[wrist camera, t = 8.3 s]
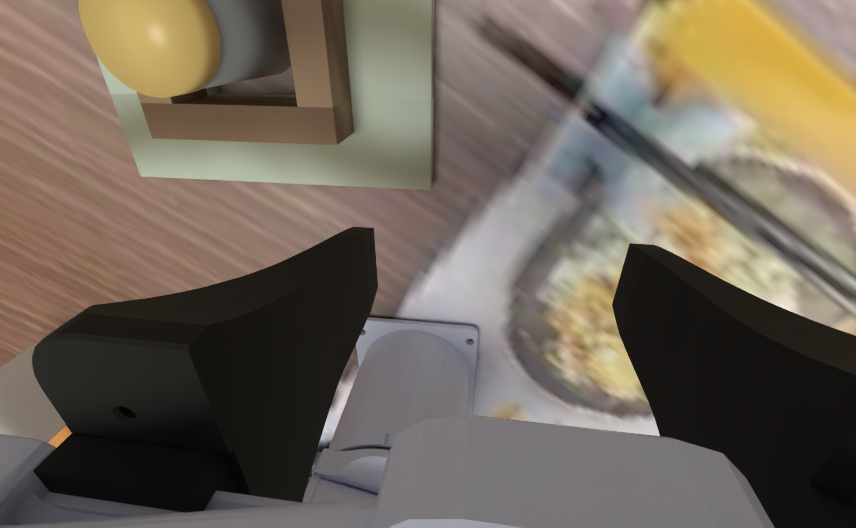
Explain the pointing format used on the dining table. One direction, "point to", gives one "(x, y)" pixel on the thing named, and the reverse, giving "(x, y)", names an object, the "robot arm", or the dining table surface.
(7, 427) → the eye dropper bottle
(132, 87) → the yellow capped shaker
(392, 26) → the holder
